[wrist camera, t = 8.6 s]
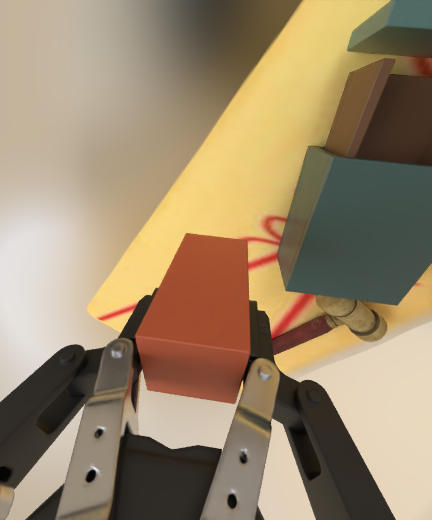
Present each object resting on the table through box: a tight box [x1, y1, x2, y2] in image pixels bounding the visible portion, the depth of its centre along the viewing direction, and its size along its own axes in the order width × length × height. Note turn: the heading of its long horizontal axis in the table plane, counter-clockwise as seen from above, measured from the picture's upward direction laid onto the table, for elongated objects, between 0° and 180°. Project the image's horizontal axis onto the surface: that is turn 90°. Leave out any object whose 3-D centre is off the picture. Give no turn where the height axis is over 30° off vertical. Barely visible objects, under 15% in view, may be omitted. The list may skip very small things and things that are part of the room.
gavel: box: [272, 295, 387, 355], centre depth 36 cm, size 21×5×10 cm
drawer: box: [324, 0, 432, 166], centre depth 16 cm, size 16×11×6 cm, turn 176°
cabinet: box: [277, 146, 432, 305], centre depth 22 cm, size 14×12×8 cm
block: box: [135, 233, 251, 404], centre depth 13 cm, size 5×5×9 cm
